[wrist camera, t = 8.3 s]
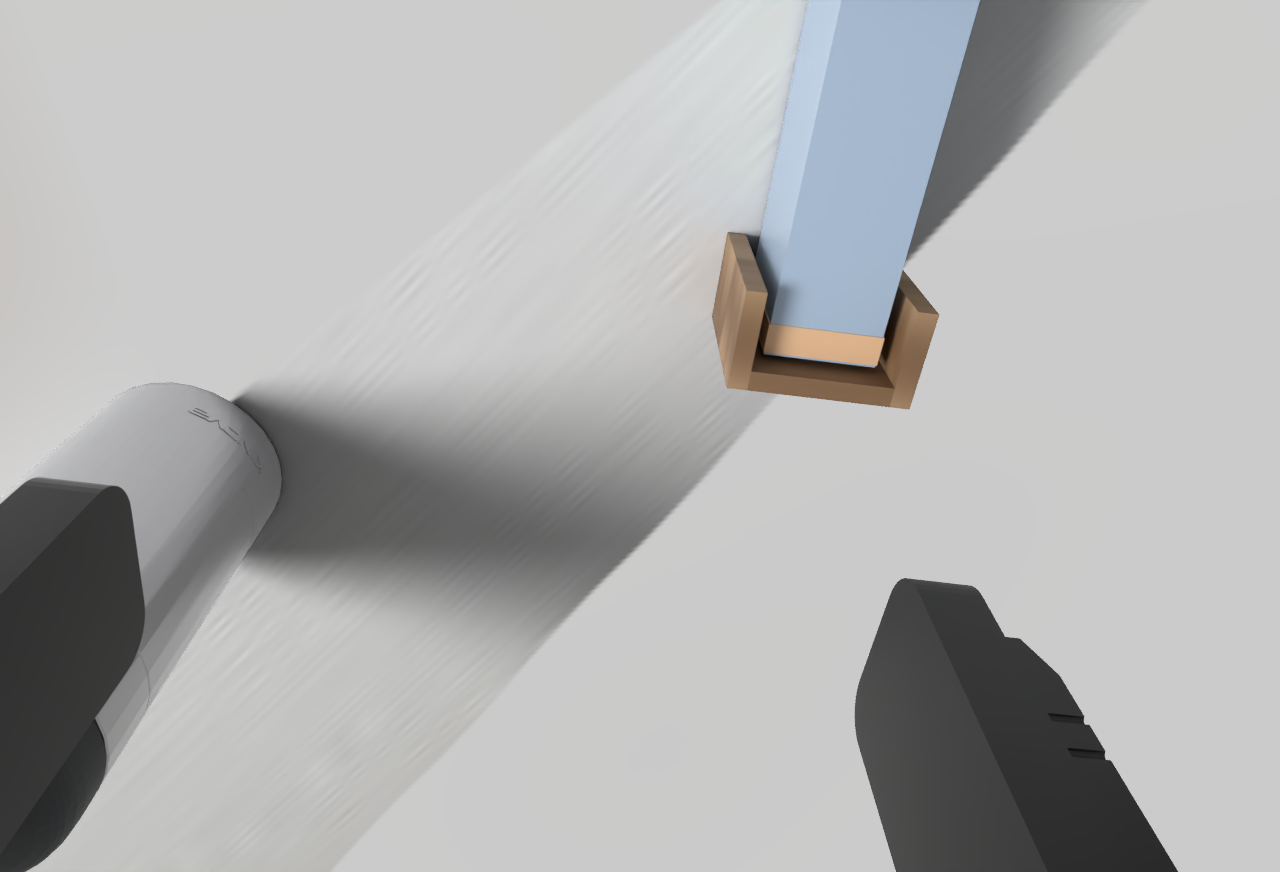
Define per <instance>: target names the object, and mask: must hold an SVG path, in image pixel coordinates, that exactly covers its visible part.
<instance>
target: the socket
mask: <svg viewBox="0 0 1280 872" xmlns="http://www.w3.org/2000/svg"><path fill="white" fill-rule="evenodd" d="M767 295H768V292H767V289H766V287H765V284H764V282H763V279H762V276H761V274H760V271H759V268H758V266H757V263H756V260H755V258H754V255H753V252H752V250H751V247H750V245H749V242H748V239H747V237H746V235H745V234H737V233H730V232H728V234H727V239H726V245H725V250H724V256H723V261H722V267H721V272H720V277H719V283H718V288H717V294H716V299H715V304H714V310H713V315H712V319H713V323H714V328H715V333H716V338H717V343H718V347H719V352H720V357H721V362H722V367H723V371H724V376H725V381H726V386H727V388H733V389H742V390H750V391H758V392H767V393H775V394H784V395H793V396H801V397H810V398H818V399H826V400H835V401H843V402H852V403H860V404H868V405H878V406H885V407H894V408H902V409H910V405H911V402H912V399H913V396H914V393H915V390H916V386H917V383H918V380H919V377H920V374H921V370H922V368H923V364H924V361H925V358H926V355H927V352H928V349H929V345H930V342H931V339H932V336H933V333H934V330H935V326H936V323H937V320H938V317H939V314H938V313H937V312H936V310H935V309H934V308H933V307H932V305H931V304H930V303H929V302H928V301H927V299H926V298H925V297H924V296H923V294H922V293H921V292H920V291H919V289H918V288H917V287H916V286H915V285H914V283H913V282H912V281H911V279H910V278H909V277H908V276H907V275H906V273H905V272H904V271H902V274H901V278H900V281H899V285H898V288H897V292H896V295H895V299H894V302H893V305H892V309H891V312H890V316H889V319H888V323H887V326H886V330H885V333H884V338H885V339H884V343H883V346H882V350H881V353H880V357H879V360H878V364H877V366H875V368H873V367H865V366H857V365H849V364H841V363H832V362H824V361H816V360H808V359H799V358H791V357H783V356H775V355H766V354H764V353H763V350H762V347H761V343H760V340H759V332H760V328H761V323H762V318H763V314H764V309H765V304H766V300H767Z"/></svg>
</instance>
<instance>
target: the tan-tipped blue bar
mask: <svg viewBox="0 0 1280 872" xmlns="http://www.w3.org/2000/svg"><path fill="white" fill-rule="evenodd" d="M979 3H980V0H808V2H807V7H806V12H805V17H804V22H803V27H802V32H801V36H800V41H799V46H798V51H797V56H796V61H795V66H794V71H793V76H792V81H791V86H790V91H789V96H788V101H787V105H786V110H785V115H784V120H783V125H782V130H781V135H780V140H779V145H778V150H777V155H776V160H775V165H774V170H773V175H772V179H771V184H770V189H769V194H768V199H767V204H766V209H765V214H764V219H763V224H762V229H761V234H760V239H759V244H758V249H757V253H756V258H755V260H756V263H757V266H758V268H759V271H760V274H761V276H762V279H763V282H764V284H765V287H766V289H767V292H768V295H767V300H766V304H765V309H764V314H763V318H762V323H761V328H760V332H759V340H760V343H761V347H762V350H763V353H764V354H766V355H775V356H783V357H791V358H799V359H808V360H816V361H824V362H832V363H841V364H849V365H857V366H865V367H873V368H875V366H877V364H878V360H879V357H880V353H881V350H882V346H883V343H884V339H885V338H884V333H885V330H886V326H887V323H888V319H889V316H890V312H891V309H892V305H893V302H894V299H895V295H896V292H897V288H898V285H899V281H900V278H901V274H902V271H903V267H904V264H905V260H906V257H907V253H908V250H909V246H910V243H911V239H912V236H913V232H914V229H915V225H916V222H917V218H918V215H919V211H920V208H921V204H922V201H923V198H924V194H925V191H926V187H927V184H928V180H929V177H930V173H931V170H932V166H933V163H934V159H935V156H936V152H937V149H938V145H939V142H940V138H941V135H942V131H943V128H944V124H945V121H946V117H947V114H948V110H949V107H950V104H951V100H952V97H953V93H954V90H955V86H956V83H957V79H958V76H959V72H960V69H961V65H962V62H963V58H964V55H965V51H966V48H967V44H968V41H969V37H970V34H971V30H972V27H973V23H974V20H975V16H976V13H977V10H978V6H979Z"/></svg>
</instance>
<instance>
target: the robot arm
mask: <svg viewBox="0 0 1280 872" xmlns="http://www.w3.org/2000/svg"><path fill="white" fill-rule="evenodd" d="M281 484H282V476H281V468H280V463H279V460H278V457H277V455H276V452H275V449H274V447H273V445H272V444H271V442H270V441H269V439H268V437H267V436H266V434H265V433H264V431H263V430H262V429H261V428H260V427H259V426H258V425H257V424H256V422H255V421H254V420H253V419H252V418H251V417H250V416H249V415H248V414H246V413H245V412H244V411H242V410H241V409H240V408H238V407H237V406H236V405H234V404H233V403H231V402H230V401H228V400H226V399H224V398H222V397H220V396H218V395H216V394H214V393H212V392H208V391H206V390H203V389H200V388H197V387H194V386H189V385H183V384H177V383H151V384H146V385H142V386H138V387H134V388H131V389H129V390H127V391H125V392H123V393H121V394H119V395H117V396H116V397H115V398H114V399H112V400H111V401H110V402H109V403H108V404H107V405H106V406H105V407H103V408H102V409H101V410H100V411H99V412H98V413H97V414H95V415H94V416H93V417H92V418H91V419H89V420H88V421H87V422H86V423H85V424H84V425H83V426H81V427H80V429H78V430H77V431H76V432H75V433H73V434H72V435H71V436H70V437H69V438H67V439H66V440H65V441H64V442H63V443H62V444H60V445H59V446H58V447H57V448H56V449H55V450H53V451H52V452H51V453H50V454H49V455H48V456H47V457H46V458H44V459H43V460H42V461H41V462H40V463H39V464H38V465H37V466H35V467H34V468H33V469H32V470H31V471H30V472H29V473H28V474H26V475H25V476H24V477H23V478H22V479H21V480H20V481H18V482H17V483H16V484H15V485H14V486H13V487H12V488H11V489H10V490H8V491H7V492H6V493H5V494H4V495H3V496H2V497H0V872H25V871H27V870H29V869H31V868H32V867H34V866H36V865H38V864H39V863H40V862H42V861H43V860H44V859H46V858H47V857H48V856H49V855H50V854H51V853H52V852H53V851H54V850H55V849H57V848H58V847H59V846H60V845H61V844H62V843H63V841H64V840H65V839H66V837H67V836H68V835H69V833H70V832H71V831H72V829H73V828H74V827H75V825H76V824H77V822H78V821H79V819H80V818H81V816H82V815H83V813H84V812H85V810H86V808H87V807H88V805H89V804H90V802H91V800H92V799H93V797H94V796H95V794H96V792H97V791H98V789H99V787H100V785H101V784H102V782H103V780H104V779H105V777H106V776H107V774H108V772H109V771H110V769H111V768H112V766H113V764H114V763H115V761H116V760H117V758H118V756H119V755H120V753H121V752H122V750H123V749H124V747H125V745H126V744H127V742H128V741H129V739H130V737H131V736H132V734H133V733H134V731H135V729H136V728H137V726H138V724H139V723H140V721H141V719H142V718H143V716H144V714H145V713H146V711H147V710H148V708H149V706H150V705H151V703H152V702H153V700H154V699H155V697H156V695H157V694H158V692H159V691H160V689H161V687H162V686H163V684H164V683H165V681H166V680H167V678H168V676H169V675H170V673H171V672H172V670H173V668H174V667H175V665H176V664H177V662H178V661H179V659H180V657H181V656H182V654H183V653H184V651H185V649H186V648H187V646H188V645H189V643H190V642H191V640H192V638H193V637H194V635H195V634H196V632H197V630H198V629H199V627H200V626H201V624H202V623H203V621H204V619H205V618H206V616H207V615H208V613H209V611H210V610H211V608H212V607H213V605H214V603H215V602H216V600H217V599H218V597H219V596H220V594H221V592H222V591H223V589H224V588H225V586H226V584H227V583H228V581H229V580H230V578H231V577H232V575H233V573H234V572H235V570H236V569H237V567H238V565H239V564H240V562H241V561H242V559H243V558H244V556H245V555H246V553H247V552H248V550H249V549H250V547H251V545H252V544H253V542H254V541H255V539H256V537H257V536H258V534H259V533H260V531H261V529H262V528H263V526H264V525H265V523H266V522H267V520H268V518H269V517H270V515H271V514H272V512H273V510H274V508H275V506H276V504H277V501H278V499H279V497H280V492H281ZM855 727H856V735H857V741H858V745H859V748H860V752H861V755H862V758H863V762H864V765H865V768H866V772H867V775H868V779H869V781H870V785H871V789H872V792H873V795H874V799H875V802H876V805H877V809H878V812H879V816H880V819H881V822H882V826H883V829H884V832H885V836H886V839H887V842H888V846H889V849H890V852H891V856H892V859H893V863H894V866H895V869H896V872H1178V871H1177V869H1176V868H1175V866H1174V864H1173V863H1172V861H1171V859H1170V858H1169V856H1168V854H1167V853H1166V851H1165V849H1164V848H1163V846H1162V844H1161V843H1160V841H1159V840H1158V838H1157V836H1156V834H1155V833H1154V831H1153V829H1152V828H1151V826H1150V825H1149V823H1148V821H1147V819H1146V818H1145V816H1144V815H1143V813H1142V811H1141V810H1140V808H1139V806H1138V805H1137V803H1136V801H1135V800H1134V798H1133V796H1132V795H1131V793H1130V791H1129V790H1128V788H1127V786H1126V785H1125V783H1124V781H1123V780H1122V778H1121V776H1120V775H1119V773H1118V772H1117V770H1116V768H1115V767H1114V765H1113V763H1112V762H1111V761H1110V760H1106V759H1105V750H1104V748H1103V747H1102V745H1101V743H1100V742H1099V740H1098V738H1097V737H1096V735H1095V733H1094V732H1093V730H1092V728H1091V727H1090V725H1085V724H1084V715H1083V714H1082V712H1081V710H1080V709H1079V707H1078V705H1077V704H1076V702H1075V700H1074V699H1073V697H1072V695H1071V694H1070V692H1069V690H1068V689H1067V687H1066V685H1065V684H1064V682H1063V681H1062V679H1061V677H1060V676H1059V675H1058V674H1057V673H1056V672H1055V671H1054V670H1053V669H1052V668H1051V667H1050V666H1049V665H1048V664H1047V663H1045V662H1044V661H1043V660H1042V659H1041V658H1040V657H1039V656H1038V655H1037V654H1036V653H1035V652H1034V651H1033V650H1031V649H1030V648H1029V647H1028V646H1027V645H1026V644H1025V643H1024V642H1023V641H1022V640H1021V639H1018V638H1009V637H1005V636H1004V634H1003V632H1002V631H1001V629H1000V627H999V625H998V623H997V622H996V620H995V618H994V616H993V615H992V613H991V611H990V609H989V608H988V606H987V604H986V602H985V600H984V598H983V597H982V595H981V594H980V592H979V591H978V590H977V589H976V588H974V587H973V586H968V585H958V584H950V583H941V582H932V581H924V580H915V579H907V578H904V579H901V580H900V581H898V582H897V584H896V585H895V586H894V588H893V590H892V592H891V595H890V597H889V600H888V603H887V606H886V608H885V611H884V614H883V617H882V620H881V622H880V625H879V628H878V631H877V634H876V637H875V639H874V642H873V645H872V648H871V651H870V653H869V656H868V659H867V662H866V665H865V667H864V671H863V673H862V676H861V679H860V682H859V685H858V689H857V695H856V703H855Z"/></svg>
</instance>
